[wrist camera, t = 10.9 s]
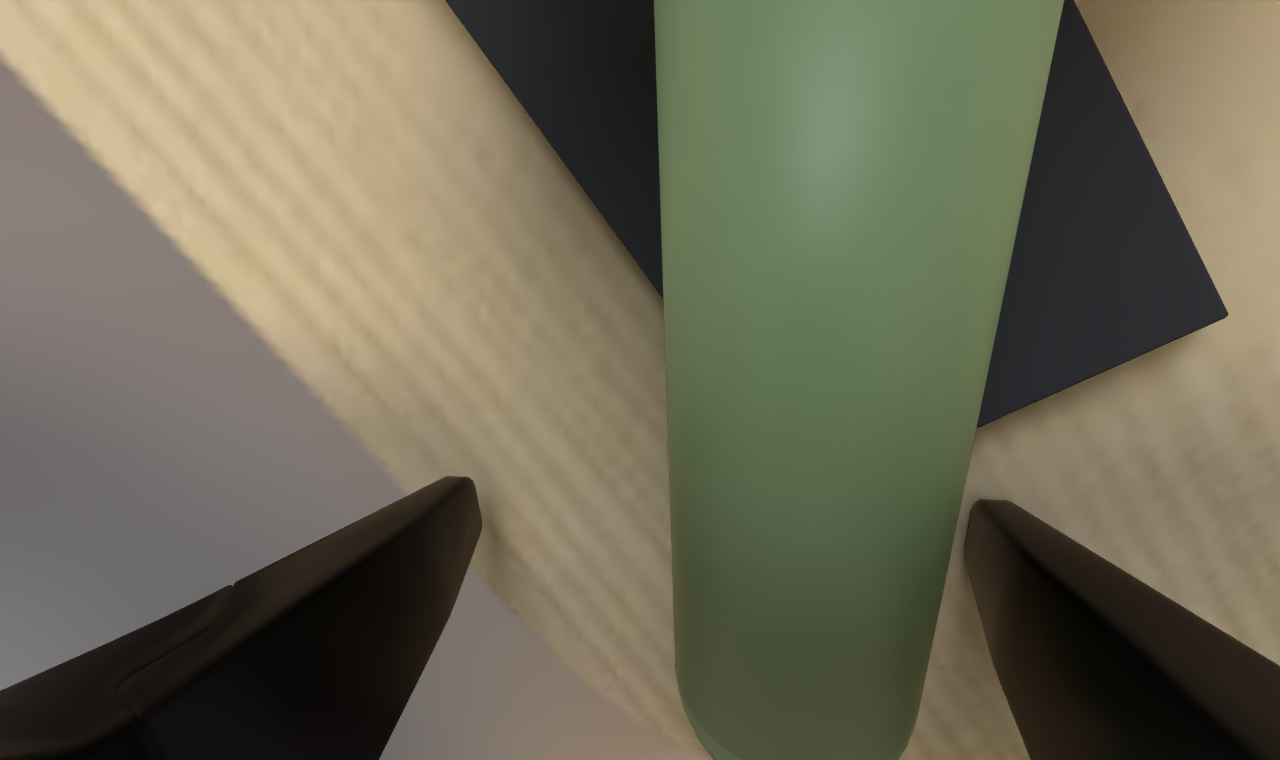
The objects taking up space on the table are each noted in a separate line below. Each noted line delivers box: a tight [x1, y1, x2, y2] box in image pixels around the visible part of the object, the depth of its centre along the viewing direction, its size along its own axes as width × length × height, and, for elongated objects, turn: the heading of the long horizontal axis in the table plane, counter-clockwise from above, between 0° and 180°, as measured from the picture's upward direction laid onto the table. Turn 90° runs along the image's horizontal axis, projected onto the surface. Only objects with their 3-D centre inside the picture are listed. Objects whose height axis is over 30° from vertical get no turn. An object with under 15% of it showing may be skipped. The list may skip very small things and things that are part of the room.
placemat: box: [446, 0, 1228, 428], centre depth 7 cm, size 10×5×1 cm, turn 38°
